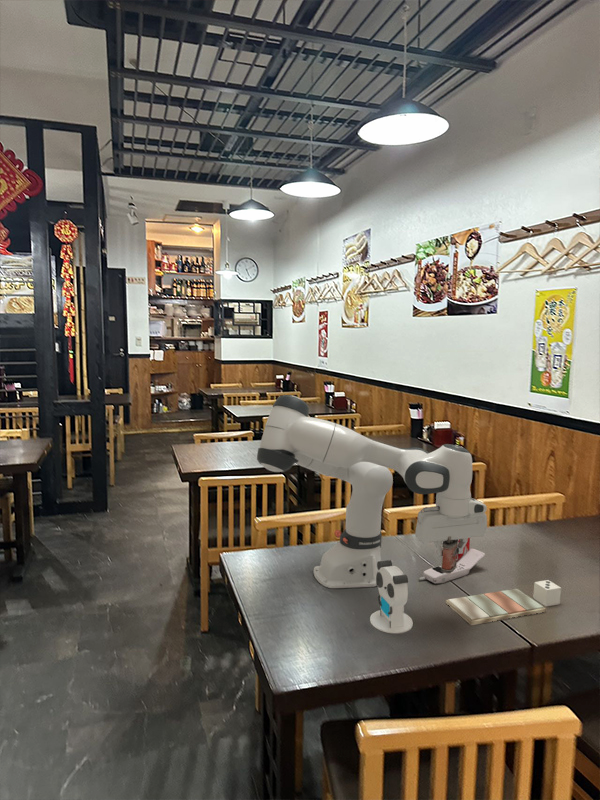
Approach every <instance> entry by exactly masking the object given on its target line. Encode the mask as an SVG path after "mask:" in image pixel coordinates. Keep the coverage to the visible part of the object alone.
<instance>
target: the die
mask: <svg viewBox="0 0 600 800" xmlns="http://www.w3.org/2000/svg"><path fill="white" fill-rule="evenodd" d="M533 584H534V586H533V597H532V599H533V600H534V601H536V602H537V603H539V604H540V605H542V606H543V607H550V606H558V605H560V604H561V595H562V587H560V586H559V585H557V584H556V583H554V582H553V581H550V580H549V579H547V580H545V579H544V580H539V581H534V583H533Z"/></svg>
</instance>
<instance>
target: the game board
mask: <svg viewBox="0 0 600 800" xmlns="http://www.w3.org/2000/svg"><path fill="white" fill-rule="evenodd" d="M445 605H447V606H448V605H449V606H450V607H449V606H448V607H449V608H451V609H452V610H453V611H454V612H455V613H456V614H458V615H459V616H460V617H461V618H462V619H463V620H464V621H465V622H467V623H468V624H469V625H470V626H475V625H481V624H486V623H493V622H497V620H499V621H503V620H502V619H504V620H509V619H508V618H510V619H513V618H512V617H515V618H519V617H518V616H521V617H525V616H524V615H527V616H531V615H530V614H532V615H537V614H536V613H538V614H542V612H544V613H546V612H547V608H546V607H545V606H544V605H543V604H541V603H540V602H538V601H537V600H535V599H534V598H531V597H530V596H529V595H527V594H525V593H524V592H523V591H521V590H519V589H518V588H513V589H507V590H505V589H504V590H500V591H492V592H486V593H479V594H474V595H468V596H462V597H461V596H460V597H455V598H454V597H453V598H449V599H445ZM492 621H493V622H492Z"/></svg>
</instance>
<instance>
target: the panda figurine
mask: <svg viewBox="0 0 600 800" xmlns="http://www.w3.org/2000/svg"><path fill="white" fill-rule="evenodd" d="M377 568H378V570H379V572H377V575H376V584H377V585H376V586H377V588H378V593H379V595H378V597H377V601H378V605H379V606H380V607H379V608H380V609H378V610H376V611H375V612H373V613H371V615H370V617H369V622H370V624H371V625H372V626H373V627H374V628H375V629H377V630H379V631H380V632H383V633H387V634H404V633H407V632H408V631H411V629H412V628H413V624H414V623H413V619H412V617H410V616H409V615H408V614H407V613H405V610H404V609H405V605H406V604H407V602H408V596H409V595H408V594H409V591H408V589H409V588H408V583H409V577H408V575H407V574H404V573H403V571H402V570H401V569H400V568H399V567H398V566H396V565H393V563H392V560H391V559H390V560H389V559H388V560H387V559H386V560H381V561H378V562H377Z"/></svg>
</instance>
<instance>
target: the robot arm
mask: <svg viewBox="0 0 600 800" xmlns="http://www.w3.org/2000/svg"><path fill="white" fill-rule="evenodd" d="M309 415H310V407H309V405H308V404H307V403H306V402H305V401H304V400H303V399H301V398H300V397H298V396H295V395H288V394H283V395H280V396H278V397H277V398H276V400H275V401H274V403H273V404H272V410H271V411H270V413H269V415H268V418H267V420H266V422H265V425H264V430H263V434H262V436H261V440H260V445H259V448H258V449H257V453H256V460H257V462H258V463H259V465H261V466H262V467H263V468H265V469H266V470H267V471H270V472H274V473H280V472H281V473H285V472H287V471H289V470H291V468H292V467H294V464H296V465H298V466H300V467H302V468H305V469H308V470H310V471H313V472H314V473H318V474H319V475H323V476H325V477H331V478H334V479H335V478H336V479H339V480H342V481H345V482H347V483H349V484H351V486H352V492H351V497H350V500H349V502H348V503H347V505H346V508H345V528H344V530H343V532H342V531H340V530H339V529H336V530H334V533H333V534H334V535H335V537H336V538H338V539H339V541H338V542H337V543H335V545H333V546H332V547H331V548H329V549H328V550H327V551H325V552H324V553H323V554H322V557H321V560H320V564H319V565H316V566H314V568H313V571H312V572H313V573H312V574H313V576H314V578H315V580H316V581H318V583H320V584H321V585H322V586H324V587H325V588H329V589H346V588H351V589H352V588H369V587H370V588H372V587H376V586H377V584H376V575H377V572H379V570H378V568H377V562H378V561H382V558H381V548H382V539H383V537H382V531H381V525H382V509H383V505H384V501H385V497H386V494H387V493H389V492H390V490H391V489H392V486H393V484H394V481H393V480H394V479H393V478H394V477H393V475H392V472H391V471H390V469H391V470H394V471H395V472H396V473H398V474H399V475H400V476H401V477H402V478H403V481H404V483H405V484H406V486H407V488H408V489H409V490H410V491H411V492H412V493H414V494H418V495H431V494H436V495H435V499H436V500H435V506H430V507H429V506H425V507H423V508H422V509H420V511H418V513H417V522H416V528H415V532H414V533H415V538H416V539H417V540H418V541H419V542H421V543H422V544H429V543H433V544H434V547H435V548H436V555H437V556H438V557H443V547H442V546H443V541H447V539H448V537H451V540H456V539H460V541H459V543H458V546H457V554H462V553H463V548H464V547H465V545H466V543H467V542H468V538H470V539H471V538H472V539H473V538H481V537H484V536H485V535H486V533H487V529H488V516H487V514H486V512H487V510H488V507H487V505H486V504H485V503H483V502H481V501H479V500H477V499H475V498H472V493H471V488H470V487H471V484H472V480H473V457H472V454H471V453H470V451H469V450H468V449H466V448H465V447H462V446H461V445H457V444H452V443H450V444H449V443H444V444H442V445H441V446H440V447H439V448H437V449H435V450H433V451H431V452H429V451H427V450H426V449H424V448H421V447H417V446H415V447H404V448H403V447H397V446H394V445H391V444H386V443H383V442H380V441H377V440H374V439H371V438H369V437H366V436H364V434H363V435H362V434H361V433H359V432H357V431H355V430H353V429H351V428H348V427H347V426H344V425H342V424H338V423H336V422H332V421H330V420H325V419H321V418H318V417H311V416H309ZM441 545H442V546H441Z"/></svg>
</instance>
